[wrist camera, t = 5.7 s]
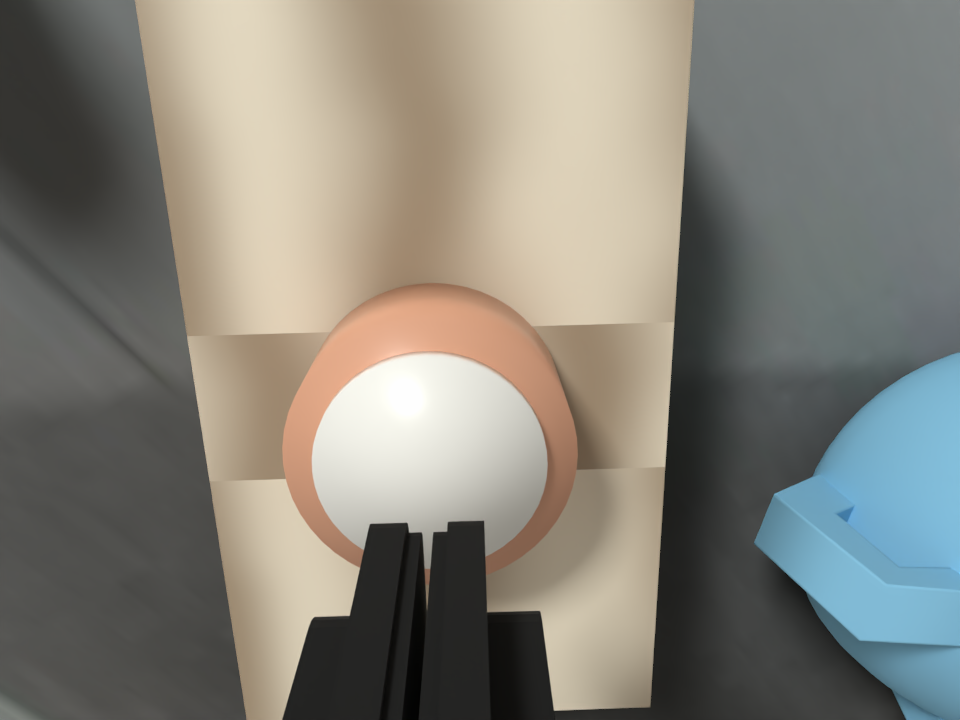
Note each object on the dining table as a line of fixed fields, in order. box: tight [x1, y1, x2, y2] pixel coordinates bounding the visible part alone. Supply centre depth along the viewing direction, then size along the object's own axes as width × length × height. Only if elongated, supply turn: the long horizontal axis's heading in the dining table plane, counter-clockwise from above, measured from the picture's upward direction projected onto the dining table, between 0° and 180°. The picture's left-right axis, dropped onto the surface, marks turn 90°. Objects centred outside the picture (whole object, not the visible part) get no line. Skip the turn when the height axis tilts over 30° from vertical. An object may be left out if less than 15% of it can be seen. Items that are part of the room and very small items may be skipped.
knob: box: [282, 283, 578, 584], centre depth 22 cm, size 6×6×11 cm
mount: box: [135, 0, 694, 720], centre depth 24 cm, size 12×20×8 cm, turn 1°
